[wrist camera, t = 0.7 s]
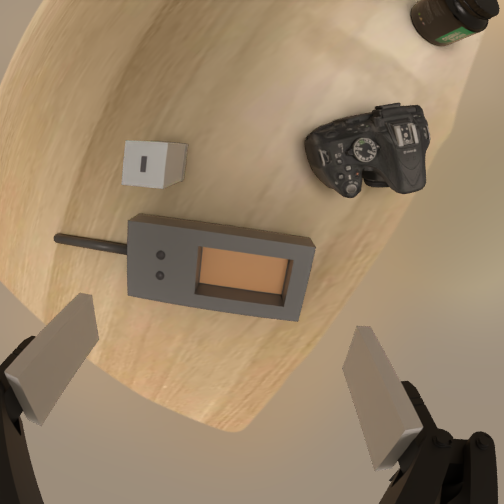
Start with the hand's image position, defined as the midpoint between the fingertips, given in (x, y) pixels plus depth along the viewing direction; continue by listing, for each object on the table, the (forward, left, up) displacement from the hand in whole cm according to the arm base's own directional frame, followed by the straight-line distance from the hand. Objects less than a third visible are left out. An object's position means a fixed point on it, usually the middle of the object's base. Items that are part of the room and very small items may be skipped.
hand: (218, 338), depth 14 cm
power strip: (+5, -8, -21) cm, 23 cm away
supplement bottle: (-31, +20, -22) cm, 43 cm away
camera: (-11, +12, -22) cm, 27 cm away
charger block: (-6, -9, -22) cm, 24 cm away
